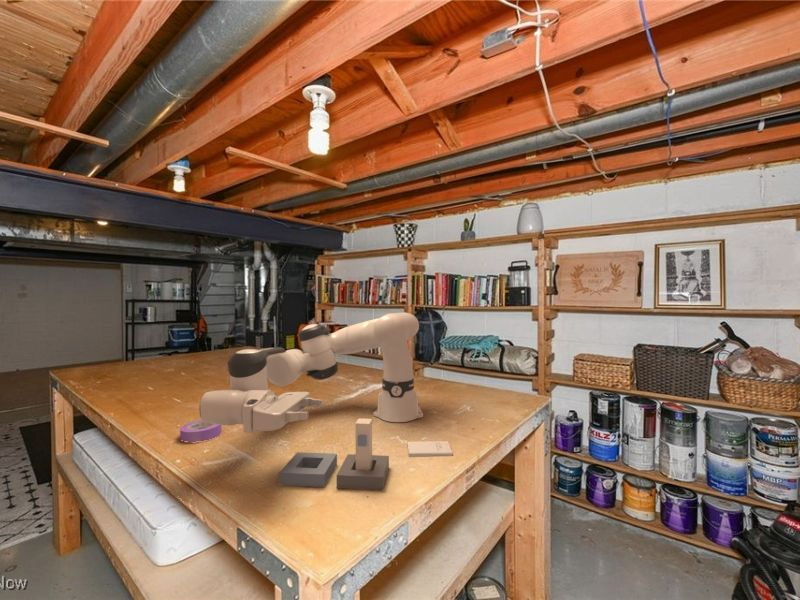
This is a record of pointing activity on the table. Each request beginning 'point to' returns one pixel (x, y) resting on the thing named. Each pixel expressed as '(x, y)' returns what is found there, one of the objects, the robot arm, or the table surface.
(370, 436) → the plug
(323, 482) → the socket
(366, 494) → the table surface
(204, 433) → the masking tape
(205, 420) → the robot arm
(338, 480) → the socket
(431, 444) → the external hard drive
